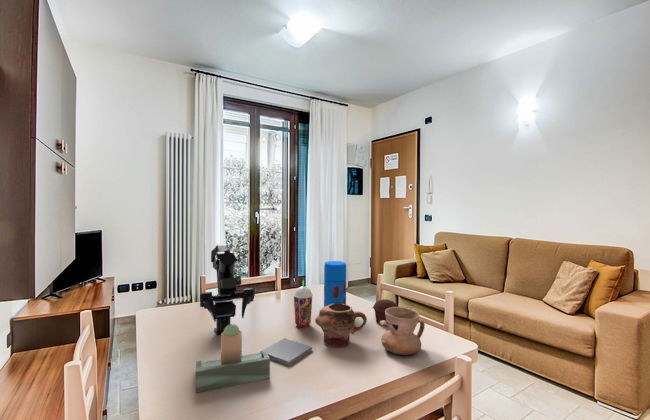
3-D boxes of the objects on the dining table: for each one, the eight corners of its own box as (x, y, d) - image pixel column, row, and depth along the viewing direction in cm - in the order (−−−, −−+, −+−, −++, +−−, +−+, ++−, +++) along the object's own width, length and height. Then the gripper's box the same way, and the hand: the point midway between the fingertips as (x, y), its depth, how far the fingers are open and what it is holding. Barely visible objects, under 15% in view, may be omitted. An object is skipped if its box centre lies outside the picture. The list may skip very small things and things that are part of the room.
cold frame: (196, 369, 101) (196, 351, 101) (261, 358, 109) (261, 341, 109) (196, 392, 89) (196, 372, 89) (269, 378, 97) (269, 358, 97)
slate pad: (260, 355, 111) (260, 351, 111) (284, 342, 122) (284, 338, 122) (288, 366, 104) (288, 361, 104) (311, 350, 115) (311, 346, 115)
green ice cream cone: (219, 362, 102) (219, 322, 102) (238, 357, 106) (239, 319, 105) (223, 371, 97) (223, 329, 97) (243, 366, 100) (244, 326, 100)
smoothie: (309, 330, 134) (310, 283, 133) (290, 328, 136) (291, 282, 135) (314, 322, 142) (314, 278, 142) (296, 321, 144) (296, 277, 143)
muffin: (397, 318, 148) (397, 297, 148) (400, 327, 137) (400, 304, 137) (371, 317, 150) (372, 296, 149) (373, 326, 139) (373, 303, 138)
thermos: (349, 312, 155) (350, 262, 155) (339, 319, 146) (339, 266, 146) (331, 308, 161) (331, 260, 161) (319, 314, 152) (319, 263, 152)
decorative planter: (362, 334, 130) (362, 301, 129) (369, 348, 118) (370, 311, 117) (313, 336, 127) (314, 302, 127) (316, 350, 115) (316, 313, 115)
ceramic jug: (387, 361, 108) (388, 320, 107) (371, 342, 122) (373, 306, 121) (434, 357, 112) (436, 317, 111) (414, 339, 126) (415, 304, 125)
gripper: (200, 270, 110) (200, 312, 100) (254, 266, 117) (259, 305, 107) (199, 286, 117) (200, 327, 107) (250, 282, 124) (255, 320, 114)
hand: (229, 319), depth 109 cm, fingers open, 9 cm apart
